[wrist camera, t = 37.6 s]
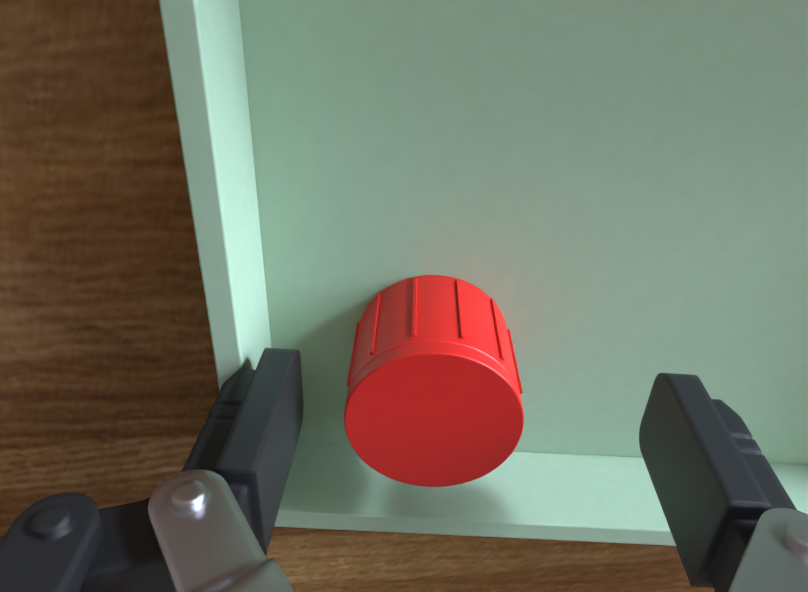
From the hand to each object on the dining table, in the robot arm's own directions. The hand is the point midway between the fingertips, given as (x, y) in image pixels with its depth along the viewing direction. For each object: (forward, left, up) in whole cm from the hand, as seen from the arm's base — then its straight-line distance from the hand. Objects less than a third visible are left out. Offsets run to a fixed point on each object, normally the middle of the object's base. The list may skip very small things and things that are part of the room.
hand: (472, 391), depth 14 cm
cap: (-1, 0, -2) cm, 2 cm away
